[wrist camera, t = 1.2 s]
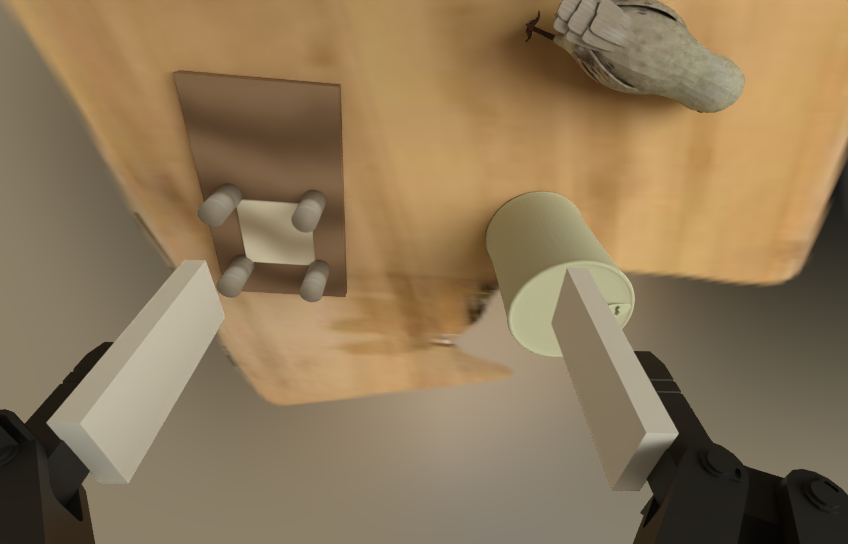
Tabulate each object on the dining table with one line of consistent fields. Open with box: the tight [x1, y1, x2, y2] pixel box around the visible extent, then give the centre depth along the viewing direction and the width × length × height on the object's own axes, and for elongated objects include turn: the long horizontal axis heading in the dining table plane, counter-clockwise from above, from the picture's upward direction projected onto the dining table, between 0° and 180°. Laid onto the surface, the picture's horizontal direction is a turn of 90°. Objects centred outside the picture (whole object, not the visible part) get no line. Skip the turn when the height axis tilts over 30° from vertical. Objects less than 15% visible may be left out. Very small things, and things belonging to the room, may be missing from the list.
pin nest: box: [173, 70, 347, 302], centre depth 35 cm, size 20×12×5 cm, turn 175°
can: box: [486, 191, 635, 357], centre depth 34 cm, size 9×9×12 cm
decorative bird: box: [525, 0, 745, 113], centre depth 27 cm, size 5×16×8 cm, turn 69°
